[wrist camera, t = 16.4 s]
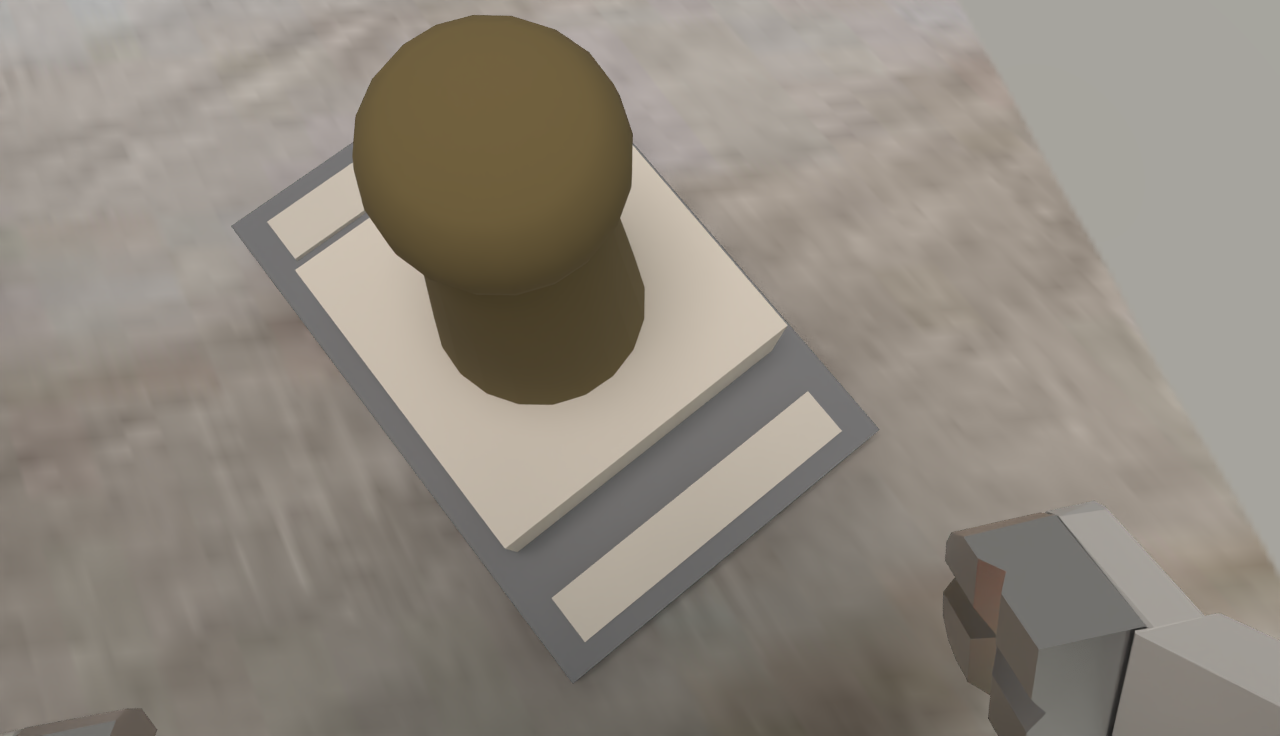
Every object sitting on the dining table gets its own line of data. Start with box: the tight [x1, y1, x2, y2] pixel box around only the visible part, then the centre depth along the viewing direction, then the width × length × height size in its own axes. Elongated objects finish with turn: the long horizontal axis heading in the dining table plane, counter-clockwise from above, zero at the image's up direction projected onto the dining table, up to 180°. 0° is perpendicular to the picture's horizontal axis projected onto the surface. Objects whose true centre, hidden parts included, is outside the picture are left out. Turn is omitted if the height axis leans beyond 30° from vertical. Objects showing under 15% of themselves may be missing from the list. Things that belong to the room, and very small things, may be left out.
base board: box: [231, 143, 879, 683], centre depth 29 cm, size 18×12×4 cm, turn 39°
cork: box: [352, 15, 645, 405], centre depth 21 cm, size 6×6×11 cm
